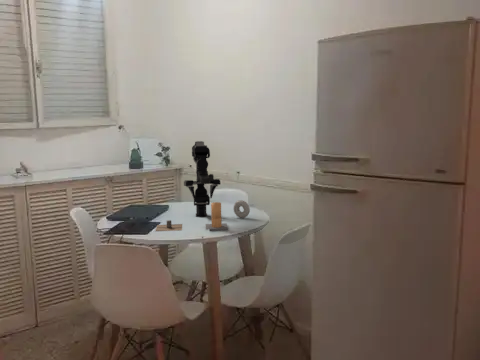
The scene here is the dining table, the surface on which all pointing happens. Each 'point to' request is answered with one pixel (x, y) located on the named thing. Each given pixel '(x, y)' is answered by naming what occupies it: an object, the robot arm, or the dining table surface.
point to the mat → (223, 228)
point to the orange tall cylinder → (216, 214)
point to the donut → (245, 207)
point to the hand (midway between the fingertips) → (202, 198)
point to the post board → (164, 227)
